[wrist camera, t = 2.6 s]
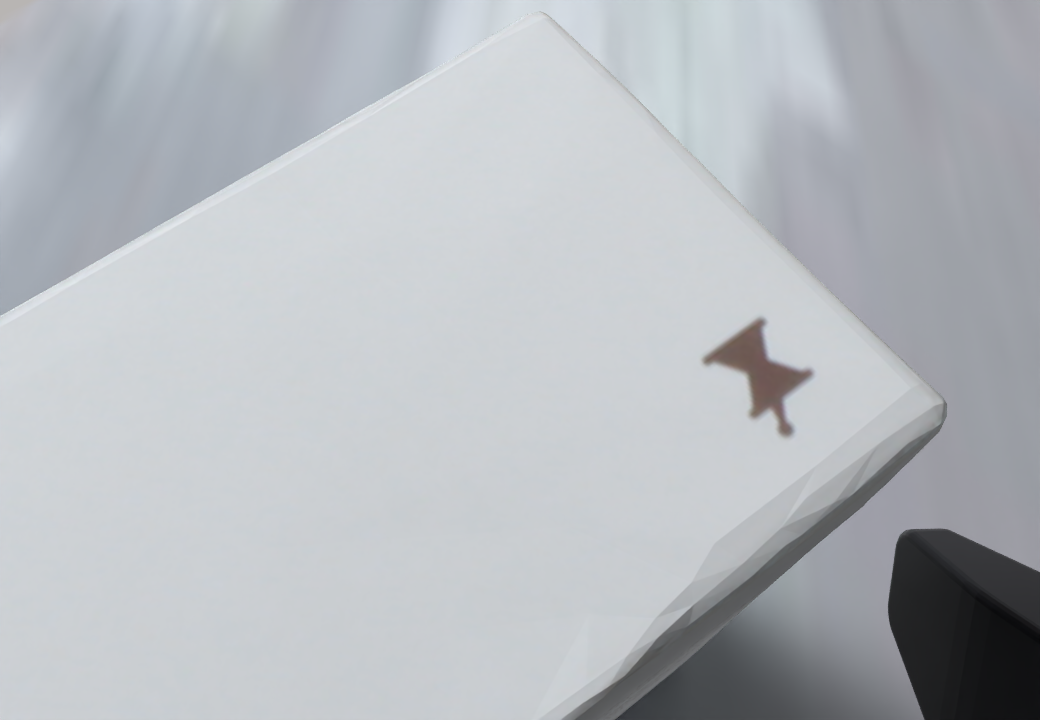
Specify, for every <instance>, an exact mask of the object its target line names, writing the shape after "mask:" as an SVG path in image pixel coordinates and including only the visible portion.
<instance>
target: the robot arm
mask: <svg viewBox="0 0 1040 720" xmlns="http://www.w3.org/2000/svg"><path fill="white" fill-rule="evenodd" d="M888 615H889V622H890V626H891V630H892V633H893V635H894V638H895V641H896V643H897V646H898V649H899V652H900V654H901V657H902V660H903V663H904V665H905V668H906V671H907V673H908V676H909V679H910V682H911V684H912V687H913V690H914V692H915V695H916V698H917V701H918V703H919V706H920V709H921V711H922V714H923V717H924V720H1040V572H1038V571H1036V570H1034V569H1032V568H1030V567H1028V566H1025V565H1023V564H1021V563H1019V562H1017V561H1015V560H1013V559H1010V558H1008V557H1006V556H1004V555H1002V554H1000V553H998V552H995V551H993V550H991V549H989V548H987V547H985V546H982V545H980V544H978V543H976V542H974V541H972V540H970V539H967V538H965V537H963V536H961V535H959V534H957V533H955V532H952V531H950V530H947V529H910V530H906V531H904V532H903V533H902V534H901V535H900V536H899V539H898V541H897V544H896V549H895V557H894V564H893V571H892V579H891V586H890V593H889V601H888Z"/></svg>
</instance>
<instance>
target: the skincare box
mask: <svg viewBox="0 0 1040 720" xmlns="http://www.w3.org/2000/svg"><path fill="white" fill-rule="evenodd" d="M946 416H947V403H946V402H945V400H944V398H943V397H942V396H941V395H940V394H939V393H938V392H937V391H936V390H935V389H934V388H932V387H931V386H930V385H929V384H928V383H927V382H926V381H925V380H924V379H923V378H922V377H920V376H919V375H918V374H917V373H916V372H915V371H914V370H913V369H912V368H911V367H910V366H909V365H908V364H907V363H905V362H904V361H903V360H902V359H901V358H900V357H899V356H898V355H897V354H896V353H895V352H894V351H893V350H892V349H891V348H890V347H889V346H888V345H886V344H885V343H884V342H883V341H882V340H881V339H880V338H879V337H878V336H877V335H876V334H875V333H874V332H873V331H872V330H871V329H870V328H868V327H867V326H866V325H865V324H864V323H863V322H862V321H861V320H860V319H859V318H858V317H857V316H856V315H855V314H854V313H853V312H852V311H851V310H849V309H848V308H847V307H846V306H845V305H844V304H843V303H842V302H841V301H840V300H839V299H838V298H837V297H836V296H835V295H834V294H833V293H832V292H830V291H829V290H828V289H827V288H826V287H825V286H824V285H823V284H822V283H821V282H820V281H819V280H818V279H817V278H816V277H815V276H814V275H813V274H812V273H811V272H810V271H809V270H808V269H807V268H806V267H805V266H804V265H803V264H802V263H801V262H800V261H799V260H798V259H797V258H796V257H795V256H794V255H793V254H792V253H791V252H790V251H788V250H787V249H786V248H785V247H784V246H783V245H782V244H781V243H780V242H779V241H778V240H777V239H776V238H775V237H774V236H773V235H772V234H771V233H770V232H769V231H768V230H767V229H766V228H765V227H764V226H763V225H762V224H761V223H760V222H759V221H758V220H757V219H756V218H755V217H754V216H753V215H752V214H751V213H750V212H749V211H748V210H747V209H746V208H745V207H744V206H743V205H742V204H741V203H740V202H739V201H738V200H737V199H736V198H735V197H734V196H733V195H732V194H731V193H730V192H729V191H728V190H727V189H726V188H725V187H724V186H723V185H722V184H721V183H720V182H719V181H718V180H717V179H716V178H715V177H714V176H713V175H712V174H711V173H710V172H709V171H708V170H707V169H706V168H705V166H704V165H703V164H702V163H701V162H700V161H699V160H698V159H697V158H695V157H694V156H693V155H692V154H691V153H690V152H689V151H688V150H687V149H686V148H685V147H684V146H683V145H682V144H681V143H680V142H679V141H678V140H677V139H676V138H675V137H674V136H673V135H672V134H671V133H670V132H669V131H668V130H667V129H666V128H665V127H664V126H663V125H662V124H661V123H660V122H659V121H658V120H657V119H656V118H655V117H654V116H653V114H652V113H651V112H650V111H649V110H648V109H647V108H646V107H645V106H644V105H643V104H642V103H641V102H640V101H639V100H638V99H637V98H636V97H635V96H634V95H633V94H632V93H631V92H630V91H629V90H628V89H627V88H626V87H625V86H624V85H623V84H621V83H620V82H619V81H618V80H617V79H616V78H615V77H614V76H613V75H612V74H611V73H610V72H609V71H608V70H607V69H606V68H605V67H604V66H602V65H601V64H600V63H599V62H598V61H597V60H596V59H595V58H594V57H593V56H592V55H591V54H590V53H589V52H588V51H587V50H586V49H584V48H583V47H582V46H581V45H580V44H579V43H578V42H577V41H576V40H575V39H574V38H573V37H572V36H571V35H569V34H568V33H567V32H566V31H565V30H564V29H563V28H562V27H561V26H560V25H558V24H557V23H556V22H555V21H554V20H553V19H552V18H551V17H549V16H548V15H547V14H545V13H543V12H536V13H531V14H527V15H525V16H524V17H522V18H520V19H519V20H517V21H515V22H514V23H512V24H510V25H509V26H507V27H505V28H503V29H502V30H500V31H498V32H497V33H495V34H493V35H492V36H490V37H488V38H487V39H485V40H483V41H482V42H480V43H478V44H476V45H475V46H473V47H471V48H470V49H468V50H466V51H465V52H463V53H461V54H460V55H458V56H456V57H454V58H453V59H451V60H449V61H448V62H446V63H444V64H442V65H441V66H439V67H437V68H435V69H434V70H432V71H430V72H429V73H427V74H425V75H423V76H422V77H420V78H418V79H416V80H415V81H413V82H411V83H409V84H407V85H406V86H404V87H402V88H400V89H398V90H397V91H395V92H393V93H391V94H389V95H388V96H386V97H384V98H382V99H380V100H379V101H377V102H375V103H373V104H371V105H370V106H368V107H366V108H364V109H362V110H361V111H359V112H357V113H355V114H354V115H352V116H350V117H349V118H347V119H345V120H343V121H342V122H340V123H338V124H337V125H335V126H333V127H331V128H330V129H328V130H326V131H325V132H323V133H321V134H319V135H318V136H316V137H314V138H312V139H311V140H309V141H307V142H305V143H304V144H302V145H300V146H298V147H296V148H295V149H293V150H291V151H289V152H288V153H286V154H284V155H282V156H280V157H279V158H277V159H275V160H273V161H272V162H270V163H268V164H266V165H265V166H263V167H261V168H259V169H257V170H256V171H254V172H252V173H250V174H249V175H247V176H245V177H243V178H242V179H240V180H238V181H236V182H235V183H233V184H231V185H229V186H228V187H226V188H224V189H222V190H221V191H219V192H217V193H215V194H214V195H212V196H210V197H208V198H207V199H205V200H203V201H201V202H200V203H198V204H196V205H194V206H193V207H191V208H189V209H187V210H186V211H184V212H182V213H180V214H179V215H177V216H175V217H173V218H172V219H170V220H168V221H166V222H165V223H163V224H161V225H159V226H158V227H156V228H154V229H152V230H151V231H149V232H147V233H145V234H144V235H142V236H140V237H139V238H137V239H135V240H133V241H132V242H130V243H128V244H126V245H125V246H123V247H121V248H119V249H118V250H116V251H114V252H112V253H111V254H109V255H107V256H105V257H104V258H102V259H100V260H99V261H97V262H95V263H93V264H92V265H90V266H88V267H86V268H85V269H83V270H81V271H79V272H78V273H76V274H74V275H72V276H71V277H69V278H67V279H65V280H64V281H62V282H60V283H58V284H56V285H55V286H53V287H51V288H49V289H48V290H46V291H44V292H42V293H41V294H39V295H37V296H35V297H33V298H32V299H30V300H28V301H26V302H25V303H23V304H21V305H19V306H17V307H16V308H14V309H12V310H10V311H9V312H7V313H5V314H3V315H2V316H0V720H615V719H616V718H618V717H619V716H620V715H621V714H623V713H624V712H625V711H626V710H627V709H629V708H630V707H631V706H632V705H634V704H635V703H636V702H637V701H638V700H640V699H641V698H642V697H643V696H644V695H646V694H647V693H648V692H649V691H651V690H652V689H653V688H654V687H655V686H657V685H658V684H659V683H660V682H661V681H663V680H664V679H665V678H666V677H668V676H669V675H670V674H671V673H672V672H674V671H675V670H676V669H677V668H678V667H680V666H681V665H682V664H683V663H684V662H686V661H687V660H688V659H689V658H690V657H691V656H692V655H693V654H695V653H696V652H697V651H698V650H699V649H700V648H701V647H703V646H704V645H705V644H706V643H707V642H708V641H709V640H710V639H711V638H712V637H714V636H715V635H716V634H717V633H718V632H720V630H721V629H722V628H723V627H724V626H725V625H726V624H728V623H729V622H730V621H731V620H732V619H733V618H734V617H735V616H736V615H738V614H739V613H740V612H741V611H742V610H743V609H744V608H745V607H746V606H747V605H749V604H750V603H751V602H752V601H753V600H754V599H755V598H756V597H758V596H759V595H760V594H761V593H762V592H763V591H765V590H766V589H767V588H768V587H769V586H770V585H771V584H773V583H774V582H775V581H776V580H777V579H778V578H779V577H780V576H782V575H783V574H784V573H785V572H786V571H787V570H788V569H790V568H791V567H792V566H793V565H794V564H795V563H796V562H797V561H799V560H800V559H801V558H802V557H803V556H804V555H805V554H806V553H808V552H809V551H810V550H811V549H812V548H813V547H815V546H816V545H817V544H818V543H819V542H820V541H822V540H823V539H824V538H825V537H826V536H828V535H829V534H830V533H831V532H832V531H833V530H835V529H836V528H837V527H838V526H840V525H841V524H842V523H843V522H844V521H846V520H847V519H848V518H849V517H850V516H852V515H853V514H854V513H855V512H857V511H858V510H859V509H860V508H861V507H863V506H864V504H865V503H866V502H867V501H868V500H869V499H870V498H871V497H873V496H874V495H875V494H876V493H877V492H878V491H879V490H880V489H881V488H882V487H883V486H885V485H886V484H887V483H888V482H889V481H890V480H891V479H892V478H893V477H894V476H895V475H896V474H897V473H898V472H899V471H900V470H901V469H902V468H903V467H904V466H905V465H906V464H907V463H908V462H909V461H910V460H911V459H912V458H913V457H914V456H915V455H916V454H917V453H918V452H919V451H920V450H921V449H922V448H923V447H924V446H925V445H926V444H927V443H928V442H929V441H930V440H931V439H932V438H933V437H934V436H935V435H936V434H937V433H938V432H939V431H940V429H941V427H942V425H943V423H944V421H945V418H946Z"/></svg>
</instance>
